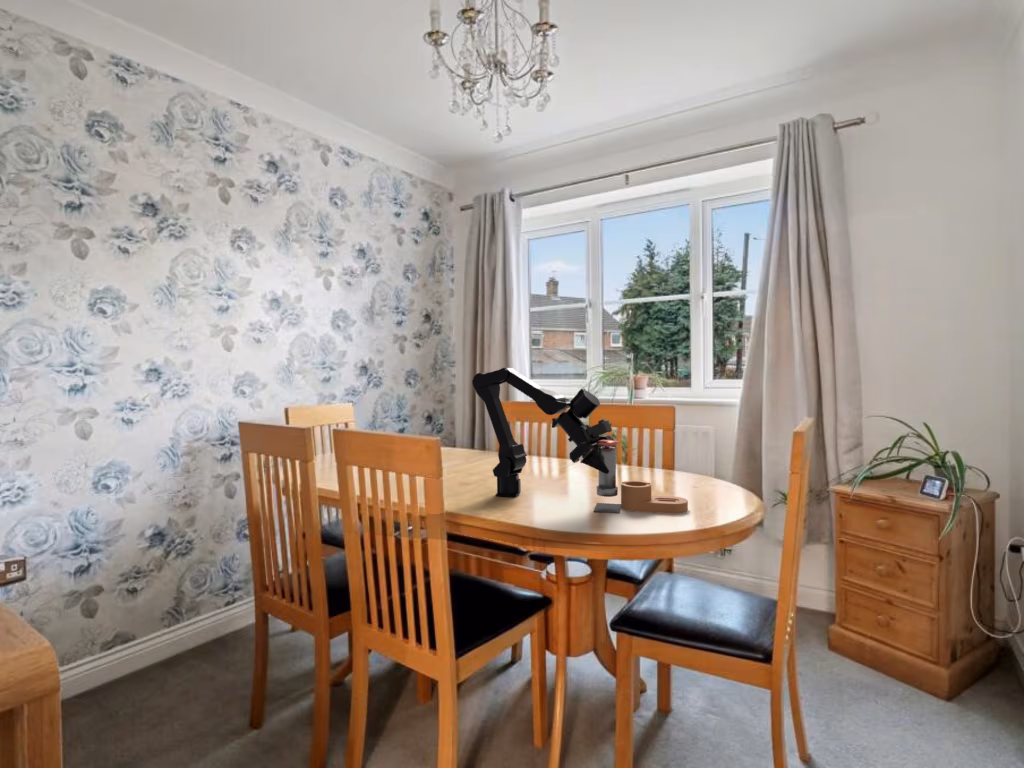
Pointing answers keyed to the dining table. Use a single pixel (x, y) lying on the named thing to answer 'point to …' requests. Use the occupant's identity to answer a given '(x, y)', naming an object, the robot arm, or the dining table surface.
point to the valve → (608, 480)
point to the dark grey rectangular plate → (607, 508)
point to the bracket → (649, 499)
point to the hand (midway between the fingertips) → (611, 471)
